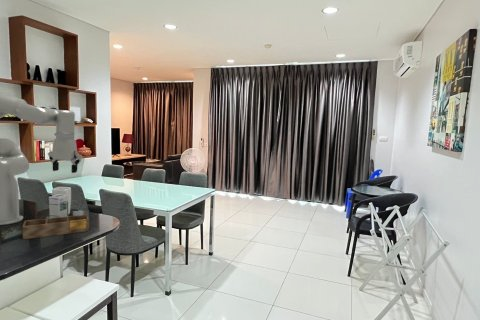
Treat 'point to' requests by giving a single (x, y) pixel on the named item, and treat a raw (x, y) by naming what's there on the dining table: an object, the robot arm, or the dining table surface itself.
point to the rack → (55, 226)
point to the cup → (66, 192)
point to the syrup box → (58, 205)
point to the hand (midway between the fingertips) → (64, 171)
